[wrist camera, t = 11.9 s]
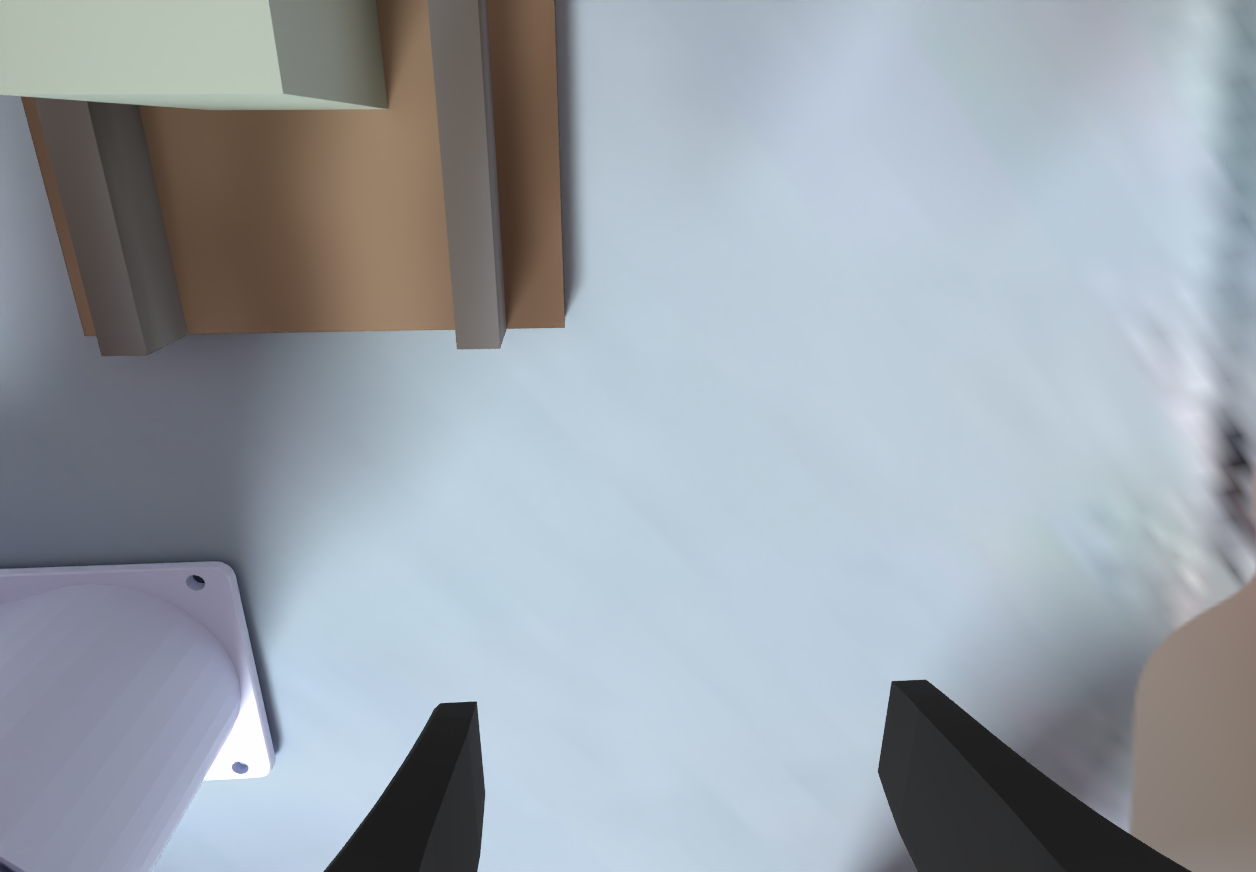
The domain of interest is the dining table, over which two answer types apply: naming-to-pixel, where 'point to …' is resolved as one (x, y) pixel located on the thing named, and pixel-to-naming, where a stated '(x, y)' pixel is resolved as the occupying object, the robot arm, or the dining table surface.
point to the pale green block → (195, 53)
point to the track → (326, 196)
